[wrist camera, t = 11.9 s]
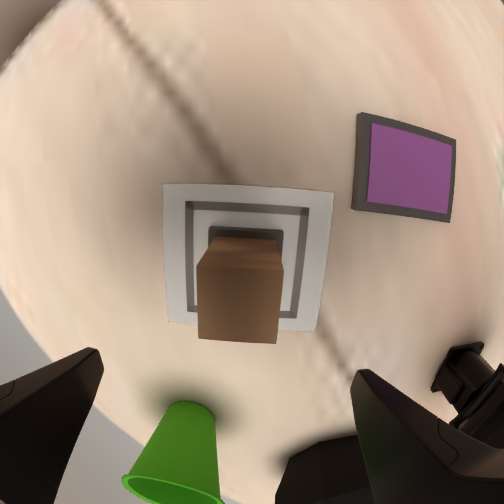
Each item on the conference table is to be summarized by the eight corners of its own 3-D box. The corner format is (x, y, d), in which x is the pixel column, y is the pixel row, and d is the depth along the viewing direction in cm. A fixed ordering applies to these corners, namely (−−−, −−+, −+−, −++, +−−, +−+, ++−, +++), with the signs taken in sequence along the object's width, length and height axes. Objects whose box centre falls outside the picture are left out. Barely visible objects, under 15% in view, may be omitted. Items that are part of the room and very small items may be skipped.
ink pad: (449, 140, 17) (457, 139, 15) (443, 220, 19) (451, 223, 17) (356, 114, 17) (362, 111, 15) (351, 208, 19) (356, 210, 17)
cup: (152, 377, 23) (113, 464, 13) (241, 399, 24) (234, 495, 13) (152, 425, 26) (126, 496, 15) (225, 443, 26) (216, 518, 16)
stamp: (282, 229, 19) (296, 261, 12) (276, 295, 20) (284, 351, 14) (210, 225, 19) (185, 254, 12) (210, 291, 20) (189, 345, 14)
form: (333, 192, 18) (334, 192, 18) (314, 329, 21) (315, 331, 21) (164, 183, 18) (162, 183, 18) (169, 319, 21) (168, 322, 21)
